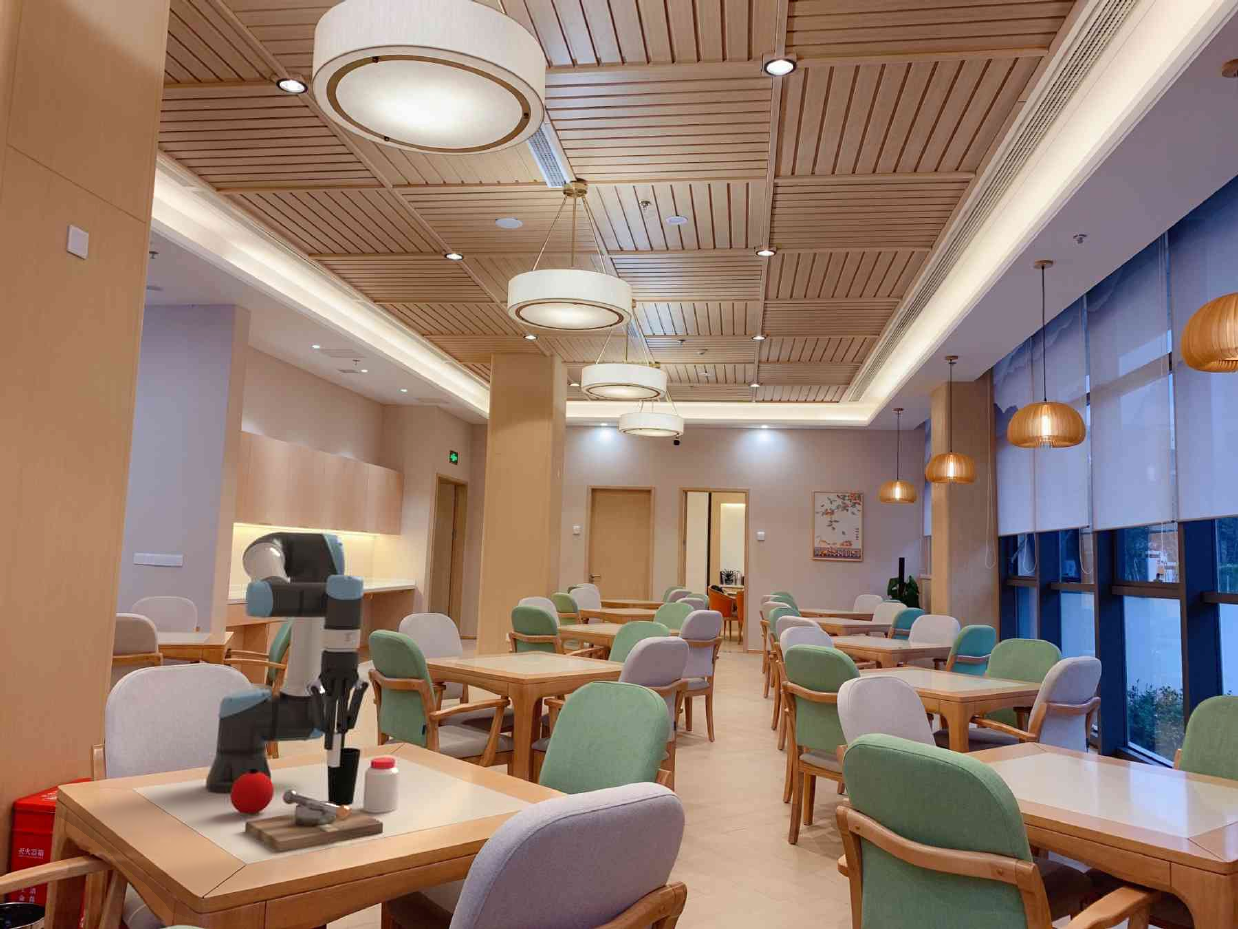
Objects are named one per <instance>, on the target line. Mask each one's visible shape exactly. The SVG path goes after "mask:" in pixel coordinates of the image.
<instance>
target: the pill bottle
mask: <svg viewBox="0 0 1238 929" xmlns="http://www.w3.org/2000/svg"><path fill="white" fill-rule="evenodd" d="M399 783H400V769H398V767H397V766H396V759H395V758H394V757H385V756H384V757H383V756H382V757H376V758H375V757H374V758H372V759H371V760H370V767H368V768H367V769H366V770H365V771H364V786H363V787H364V788H363V789H364V790H363V807H362V810H363V812H367V813H373V814H381V813H382V814H385V813H390V812H394V811H395V810H397V809H398V801H399V786H400V784H399Z"/></svg>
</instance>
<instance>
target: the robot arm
mask: <svg viewBox="0 0 1238 929" xmlns="http://www.w3.org/2000/svg"><path fill="white" fill-rule="evenodd" d="M344 551H345V550H344V544H343V541H342V540H341V538H340V537H339V536H338V535H337V534H330V533H323V532H287V531H276V532H272V533H268V534H264V535H262V536H260V537H258V538H256V539H255V540H253V541H252V542H251V543H250V544H249V545H248V546H247V547H246V549H245V551H244V553H243V554H242V555H243V556H242V566H243V570H244V571H245V573H246V575H247V576H248V577H249V578H250V581H251V582H249V583H248V585H247V586H246V593H245V600H244V601H245V606H244V607H245V614H246V615H247V616H248V617H254V618H262V619H266V618H292V621H291V622H292V623H291V630H290V631H291V632H290V643H289V654H288V661H287V662H288V663H287V665H288V666H287V673H286V674H287V675H286V681H285V682H284V683H283V684H282V685H281V686H280V687H279V690H278V691H279V692H278V694H275V695H274V694H273V695H271V691H270V690H269V689H266V688H265V689H263V688H262V689H253V690H252V689H249V690H243V691H238V692H234V693H231V694H228V695H225V696H224V697H223V698H222V699H221V701H220V705H219V706H220V707H219V713H218V714H217V717H218V729H217V730H218V731H217V740H216V751H215V757H214V760H213V762H212V763H211V764H212V765H211V767H210V770H209V772H208V774H207V776H206V779H205V781H206V782H205V790H207V791H209V792H212V793H219V794H220V793H221V794H231V789H232V787H233V785H234V783H235V782H236V781H237V780H238V778H240V777H241V776H242V775H244V774H246V773H250V768H253V767H257V768H258V772H260V773H263V774H265V775H266V776H268V777H269V779H270V780H271V781H272V773H271V770H270V766H269V763H268V758H267V752H266V751H267V743H274V742H277V743H278V742H295V741H296V742H297V741H305V742H306V741H308V740H309V741H311V740H318V739H320V738H322V737H323V736H324V742H323V744H324V745H323V749H324V750H326V754H327V756H326V766H327V765H328V766H330V767H339V763H340V749H343V748H345V742H346V741H345V740H346V734H348V732H349V731H350V730H353V729H355V727H356V723H357V719H358V716H359V712H360V709H361V705H362V701H363V698H364V694H365V693H366V691H367V690H368V688H369V686H370V684H369V682H368V681H364V680H363V679H361V678H360V674H359V672H358V668H359V662H360V652H359V650H357V649H359V648H360V643H361V628H362V613H363V604H364V603H363V601H364V594H365V590H364V578H363V577H362V576H361V575H351V574H350V575H348V574H347V575H346V574H345V570H346V566H345V565H346V564H345V562H346V561H345V552H344ZM353 688H354V690H353V693H352V696H351V691H352V689H353ZM350 697H351V698H350ZM349 700H350V701H349ZM349 702H350V703H349ZM335 730H336V731H335ZM327 751H328V752H327ZM328 766H327V767H328Z"/></svg>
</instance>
